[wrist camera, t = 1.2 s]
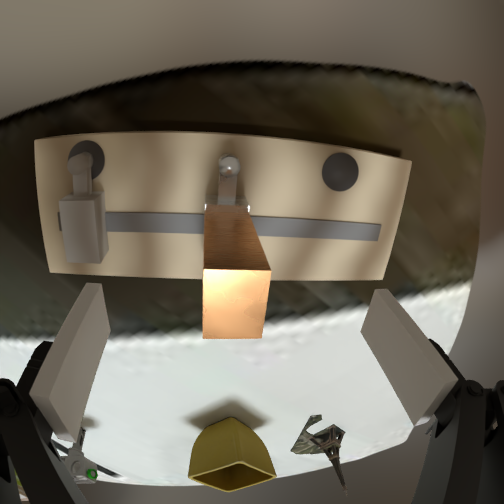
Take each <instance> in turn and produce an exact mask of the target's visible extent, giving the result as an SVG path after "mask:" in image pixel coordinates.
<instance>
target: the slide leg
mask: <svg viewBox="0 0 504 504" xmlns="http://www.w3.org/2000/svg"><path fill="white" fill-rule="evenodd" d="M218 164H219V183H218V195H207V194H205V211H204V235H203V339H257V338H262V332H263V325H264V318H265V312H266V305H267V298H268V291H269V284H270V278H271V268H270V266H269V263H268V261H267V258H266V255H265V253H264V250H263V248H262V245H261V242H260V240H259V237H258V235H257V232H256V230H255V227H254V225H253V222H252V219H251V217H250V214H249V208H250V206H249V203H248V201H247V199H246V196H236V185H237V174H238V173H239V171H240V163H239V159H238V157H236V156H235V155H233V154H231V153H225V154H223V155H222V156H220V158H219V161H218Z"/></svg>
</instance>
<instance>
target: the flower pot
mask: <svg viewBox="0 0 504 504" xmlns="http://www.w3.org/2000/svg"><path fill="white" fill-rule="evenodd" d="M276 477H277V475H276V473H275V470H274V467H273V464H272V461H271V458H270V456H269V453H268V450H267V448H266V446H265V445H264V443H263V442H262V440H261V439H260V438H259V437H258V435H257V434H256V433H255V432H254V431H253V430H252V429H251V428H249V427H247V426H246V425H244V424H242V423H241V422H239V421H238V420H236V419H235V418H233V417H230V418H227V419H225V420H222V421H220V422H218V423H215V424H213V425H210V426H208V427H206V428H205V429H204V430H203V431H202V432H201V433H200V435H199V436H198V437H197V439H196V441H195V443H194V445H193V448H192V453H191V459H190V465H189V472H188V478H190V479H192V480H194V481H196V482H199V483H201V484H204V485H207V486H210V487H213V488H216V489H219V490H222V491H226V492H231V491H235V490H238V489H242V488H245V487H249V486H252V485H255V484H258V483H262V482H265V481H268V480H271V479H273V478H276Z"/></svg>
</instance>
